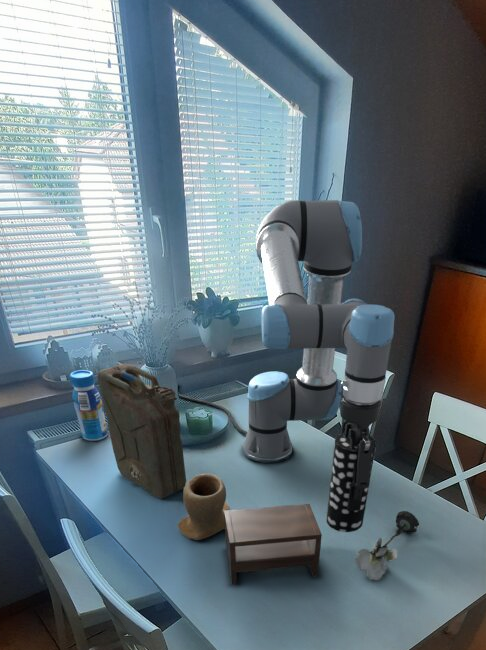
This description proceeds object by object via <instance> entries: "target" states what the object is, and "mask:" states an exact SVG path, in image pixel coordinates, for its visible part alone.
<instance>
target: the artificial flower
mask: <svg viewBox="0 0 486 650" xmlns="http://www.w3.org/2000/svg"><path fill="white" fill-rule="evenodd" d="M395 525H396V528H397V529H396V531H395V534H394V535H393V536H391V538H390V539H389V540H388V541H387V542H386V543H385V544H384V545H382V543H383V538H382V537H378V539H377V541H376V542H375V543H374V544H373V546H372V551H370V550H369V549H366V548H361V549H360V550H358V552H357V553H356V554H355V556H354V564H355V565H356V567H357V569H358V570H360V571H366V577H368V579H369V580H373V581H378V580H380V579H381V578H382V577H383V575H384V574H385V573H386V572H387V565H386V564H387V563H390V562H392V561H395V560H397V558H398V554H399V551H398V549H397V548H390V549H388V545H389V544H390V543H391V542H392V541H393V540H394V538H396V537H399V536H400V535H401V534H402V532H404V533H406V534H412V533H417V531H418V529H417V528H418V527H419V526H420V522H419V520H418V518H417V517H416V515H414V514H413V513H412V512H410V511H409V510H408V511H407V510H401V511H398V512H397V513H396V516H395ZM385 563H386V564H385Z"/></svg>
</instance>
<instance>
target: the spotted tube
mask: <svg viewBox="0 0 486 650" xmlns="http://www.w3.org/2000/svg"><path fill="white" fill-rule="evenodd" d="M369 440H374V447H373V451H372V459H371V470H370V479H371V478H372V472H373V466H374V461H375V454H376V447H377V440H376V439H375V438H374V437H373V435H370V437H369ZM354 448H359V447H358V446H354ZM354 460H355V461H357V460H358V449H352V448H351V447H350V439H349V436H348V437H345V436H344V433H341V434H340V433H339V434H338V435H336V436H335V439H334V447H333V455H332V464H331V474H330V483H329V492H328V501H327V511H326V523H327V526H328V527H330V528H331V529H333V530H335V531H337V532H341V533H352V532H357V531H358V530H360V529H361V528H362V527H363V524H364V518H365V514H366V507H367V501H368V495H369V491H370V490H369V489H370V487H369V488H364V489H363V495H362V501H361V508H360V510H358V511H347V505H348V498H349V491H350V486H349V484H351V483H353V466H354ZM369 485H371V480H370V481H369Z"/></svg>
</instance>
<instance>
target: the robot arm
mask: <svg viewBox="0 0 486 650" xmlns="http://www.w3.org/2000/svg"><path fill="white" fill-rule="evenodd" d="M362 226H363V225H362V218H361V213H360V209H359V207H358V205H357V204H356V203H355V202H353V201H344V200H339V199H336V200H335V199H334V200H333V199H331V200H328V199H327V200H325V199H324V200H323V199H322V200H300V199H298V200H297V199H296V200H294V199H293V200H288V201H285V202H283V203H280V204H278V205H277V206H275V207H274V208H273V209H271V210H270V211H269V212H268V213H267V214H266V215H265V216H264V218H263V219H262V221H261V222H260V224H259V226H258V229H257V232H256V235H255V251H256V255H257V258H258V261H259V262H260V263H261V265H262V268H263V273H264V281H265V289H266V296H267V301H268V304H266V305H264V306H263V307H262V309H261V315H260V316H261V319H260V321H261V323H260V325H261V326H260V327H261V341H262V345H263V346H264V348H266V349H274V350H281V351H285V350H299V349H300V350H302V349H303V354H302V366H301V367H300V368H299V369H298V370H297V371H296V375H295V378H290V377H289V375H288V374H287V373H285V372H283V371H278V370H277V371H275V370H274V371H273V370H272V371H265V372H262V373H259V374H256V375H255V376H253V378H251V379H250V381H249V383H248V389H247V390H248V391H247V393H248V394H247V401H248V429H247V431H246V430H244V429H242V428H241V427H240V426H239V425H238V424H237V423H236V420H235V419H234V417H233V416H232V414H231V412H230V410H229V409H227V408H226V407H223V406H222V405H220V404H217V403H214V402H211V401H207V400H203V399H198V398H194V397H190V396H188V395H183V394H180V393H179V396H178V397H179V398H180V399H184V400H187V401H191V402H195V403H199V404H205V405H208V406H212V407H214V408H217V409H220V410H221V411H223V412H225V414H227V416H228V418H229V420H230V422H231V423H232V425H233V426H234V428H235V429H236V430H237V431H238V432H240V433H242V434H244V435H245V438H244V441H243V445H242V450H243V455H244V456H245V457H246V458H248V459H249V460H251V461H254V462H258V463H264V464H272V463H278V462H279V463H280V462H282V461H284V460H286V459H287V460H288V458H289V457H291V455H292V453H293V446H292V441H291V438H290V435H289V431H288V422H295V421H297V422H298V421H317V422H321V421H326V420H332V419H333V418H334V417H335V416H336V415H337V413H338V412H339V416H340V417H341V425H340V431H339V434H341V433H344V436H345V437H348V436H349V439H350V447H351V448H352V449H358V460H357V461H355V460H354V466H353V483H351V484H349V486H350V491H349V498H348V505H347V511H358V510H360V508H361V501H362V495H363V489H364V488H369V489H370V484H369V481H370V482H371V478H370V470H371V459H372V451H373V447H374V440H369V437H370V436H371V429H370V426H371V425H372V424H374V423H375V422H377V421H378V420H379V418H380V411H381V407H382V406H381V405H382V401H381V400H382V399H383V396H384V391H385V386H386V385H385V384H386V379H387V375H386V373H387V369H388V363H389V359H390V353H391V346H392V341H393V338H394V336H395V335H394V334H395V327H394V326H395V313H394V311H393V310H392V309H391V308H389V307H386V306H385V305H381V304H371V303H369V304H368V303H367V302H365V301H363V300H362V299H360V298H348V299H347V300H345V301H343V302H342V295H343V286H344V279H345V278H346V277H347V276H348V275H349V274H350V273H351V272H352V266H353V265H352V264H353V263H356V262H359V260H360V259H361V255H362V249H363V227H362ZM299 262H303V270H304V271H305V273H306V274H307V275H308V286H307V295H306V292H305V286H304V281H303V277H302V273H301V267H300V263H299ZM336 349H345V350H346V360H345V369H344V379H343V380H342V381H341V380H340V379H339V378H338V374H337V372H336V371H335V370H334V363H335V355H336ZM342 388H343V389H342ZM342 395H343V396H342ZM339 408H340V411H339ZM354 446H358V447H359V448H354Z"/></svg>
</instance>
